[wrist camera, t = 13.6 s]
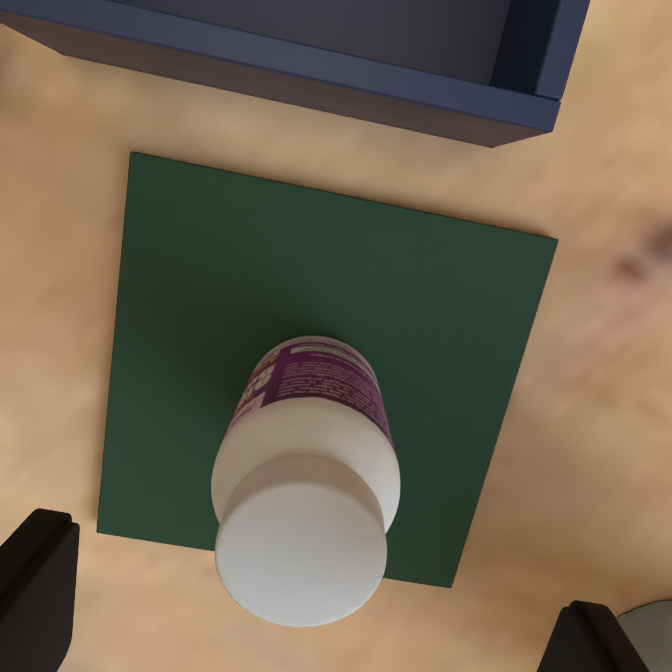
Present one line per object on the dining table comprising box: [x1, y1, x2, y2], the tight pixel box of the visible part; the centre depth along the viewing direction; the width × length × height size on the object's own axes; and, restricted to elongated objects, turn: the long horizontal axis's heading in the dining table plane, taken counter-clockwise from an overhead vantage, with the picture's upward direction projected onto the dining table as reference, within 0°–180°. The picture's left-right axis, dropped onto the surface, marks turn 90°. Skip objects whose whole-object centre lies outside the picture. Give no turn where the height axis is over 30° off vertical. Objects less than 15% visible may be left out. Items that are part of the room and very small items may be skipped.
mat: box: [96, 151, 558, 588], centre depth 21 cm, size 16×16×1 cm
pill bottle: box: [211, 336, 400, 627], centre depth 16 cm, size 5×5×10 cm
